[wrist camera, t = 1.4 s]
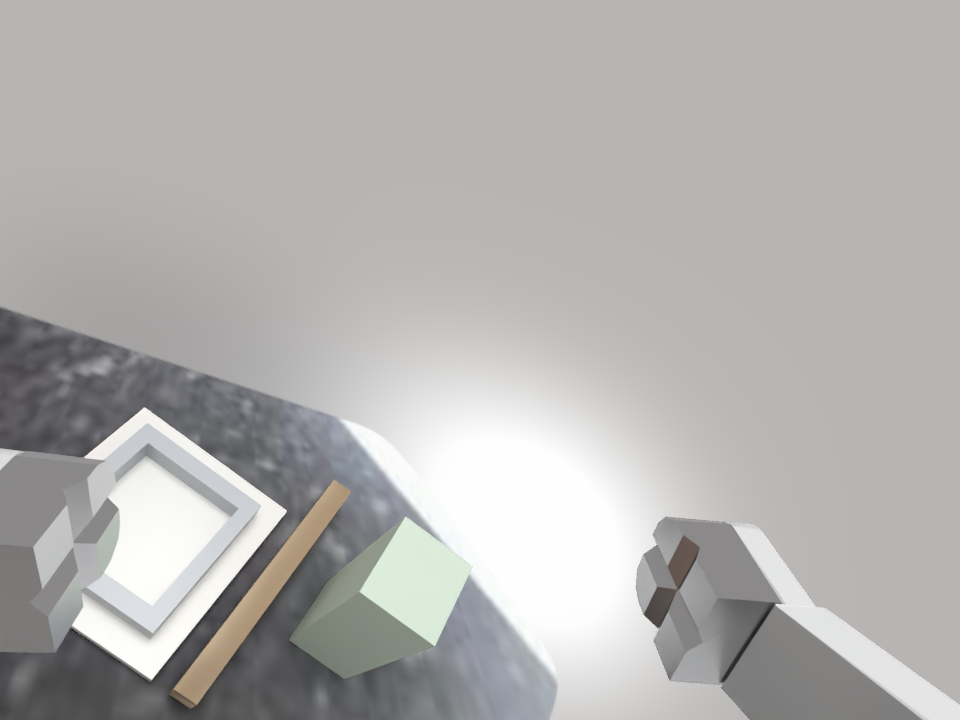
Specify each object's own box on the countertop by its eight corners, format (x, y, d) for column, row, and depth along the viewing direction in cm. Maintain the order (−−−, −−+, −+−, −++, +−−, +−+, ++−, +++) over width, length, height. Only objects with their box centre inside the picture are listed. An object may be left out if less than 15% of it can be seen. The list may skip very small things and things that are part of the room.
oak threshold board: (168, 694, 33) (173, 689, 31) (322, 494, 43) (334, 479, 41) (190, 709, 33) (196, 704, 31) (338, 505, 43) (351, 491, 41)
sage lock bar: (288, 639, 37) (359, 591, 27) (328, 579, 40) (405, 516, 30) (344, 679, 37) (434, 646, 27) (380, 616, 41) (472, 566, 31)
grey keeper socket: (-31, 558, 32) (-41, 543, 29) (144, 413, 40) (146, 393, 38) (150, 681, 33) (154, 675, 30) (283, 515, 41) (294, 501, 39)
